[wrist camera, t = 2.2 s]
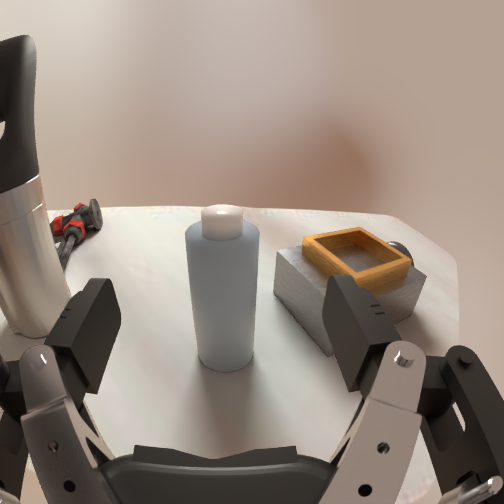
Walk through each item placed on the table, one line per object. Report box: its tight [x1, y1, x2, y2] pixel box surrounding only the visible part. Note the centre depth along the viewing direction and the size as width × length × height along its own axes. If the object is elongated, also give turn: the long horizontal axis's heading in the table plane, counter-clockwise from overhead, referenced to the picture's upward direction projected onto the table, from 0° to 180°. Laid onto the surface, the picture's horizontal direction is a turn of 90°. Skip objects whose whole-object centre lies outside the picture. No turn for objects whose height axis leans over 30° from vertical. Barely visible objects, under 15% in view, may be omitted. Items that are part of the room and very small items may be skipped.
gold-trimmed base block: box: [273, 227, 427, 357], centre depth 33 cm, size 16×12×8 cm
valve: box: [50, 199, 103, 273], centre depth 45 cm, size 6×26×15 cm
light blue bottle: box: [185, 205, 260, 372], centre depth 24 cm, size 6×6×15 cm
